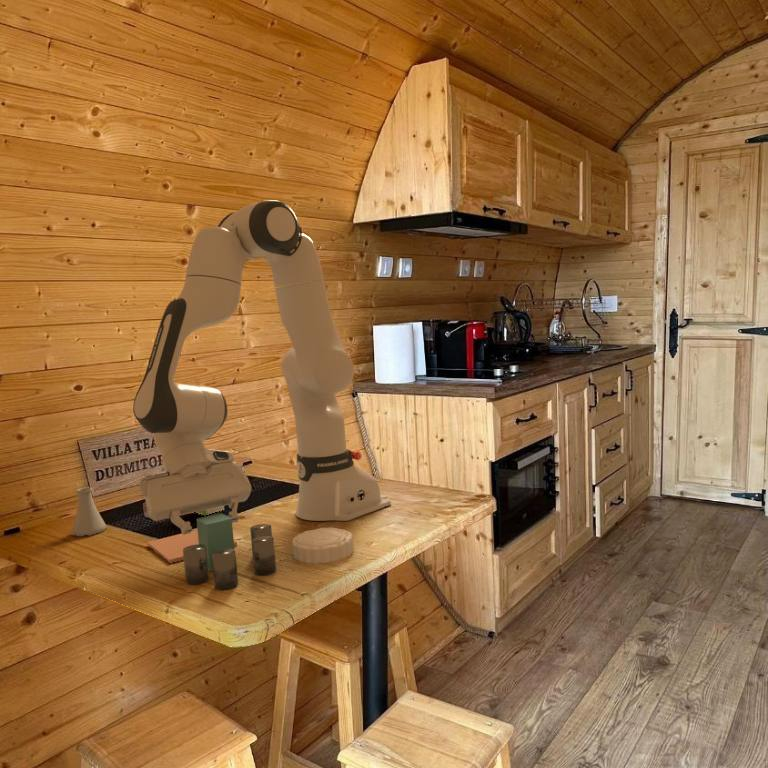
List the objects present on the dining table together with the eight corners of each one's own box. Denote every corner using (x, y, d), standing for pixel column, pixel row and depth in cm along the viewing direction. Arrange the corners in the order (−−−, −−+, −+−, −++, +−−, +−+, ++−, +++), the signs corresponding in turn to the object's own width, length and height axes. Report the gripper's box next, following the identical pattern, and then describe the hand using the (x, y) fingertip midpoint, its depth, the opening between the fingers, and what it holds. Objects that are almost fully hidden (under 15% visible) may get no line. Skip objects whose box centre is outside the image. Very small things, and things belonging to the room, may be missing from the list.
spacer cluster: (267, 551, 139) (265, 522, 138) (297, 568, 129) (294, 537, 129) (179, 577, 129) (175, 545, 128) (203, 597, 119) (200, 563, 118)
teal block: (225, 557, 138) (221, 512, 136) (235, 564, 133) (231, 518, 132) (200, 564, 135) (196, 518, 134) (210, 571, 131) (206, 524, 130)
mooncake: (280, 555, 137) (278, 538, 137) (327, 538, 146) (325, 521, 145) (319, 569, 129) (317, 550, 128) (366, 550, 137) (365, 532, 137)
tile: (211, 529, 155) (210, 526, 155) (237, 545, 144) (236, 541, 144) (147, 545, 147) (147, 542, 147) (169, 563, 136) (169, 559, 136)
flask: (93, 537, 155) (88, 493, 154) (64, 537, 156) (59, 493, 155) (112, 526, 162) (108, 484, 161) (84, 526, 164) (79, 485, 162)
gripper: (138, 468, 133) (160, 530, 126) (239, 450, 144) (264, 506, 138) (134, 487, 137) (154, 548, 130) (232, 468, 148) (256, 523, 142)
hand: (211, 526), depth 134 cm, fingers open, 8 cm apart
